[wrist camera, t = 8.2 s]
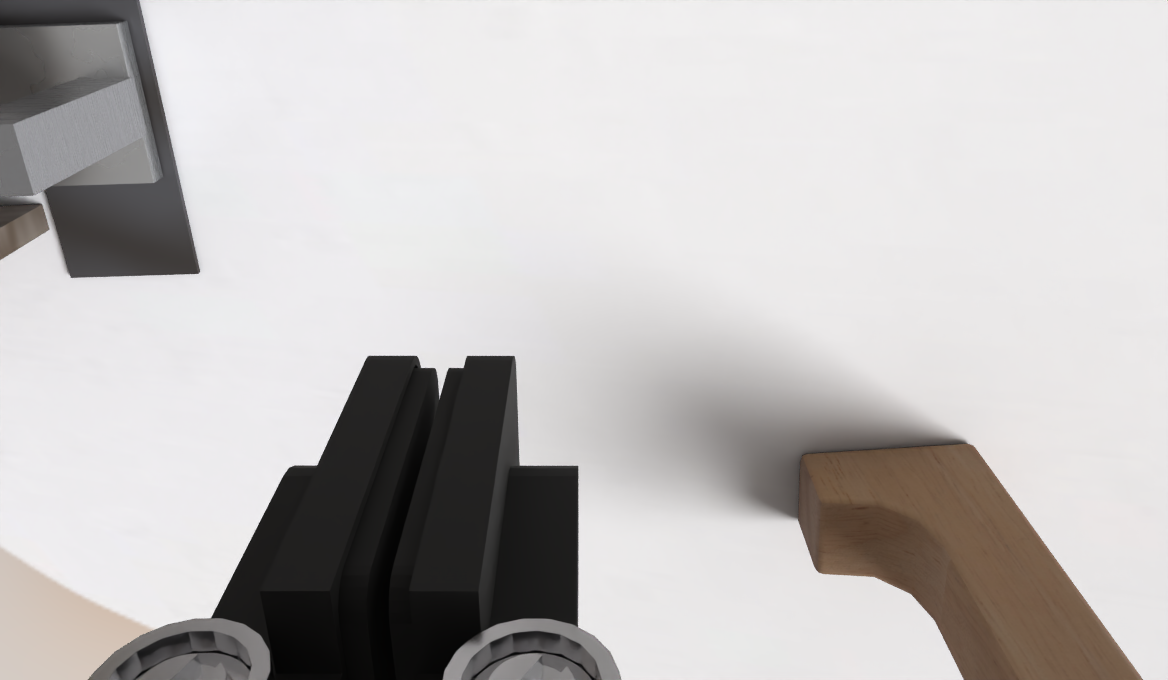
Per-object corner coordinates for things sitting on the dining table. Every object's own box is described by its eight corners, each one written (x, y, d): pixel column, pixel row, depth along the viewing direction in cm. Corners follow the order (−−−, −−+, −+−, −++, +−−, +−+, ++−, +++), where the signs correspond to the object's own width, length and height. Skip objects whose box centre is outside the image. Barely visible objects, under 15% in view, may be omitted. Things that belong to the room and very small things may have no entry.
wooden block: (796, 521, 50) (901, 822, 34) (798, 451, 48) (911, 733, 32) (964, 511, 50) (1152, 809, 33) (973, 440, 48) (1177, 718, 31)
